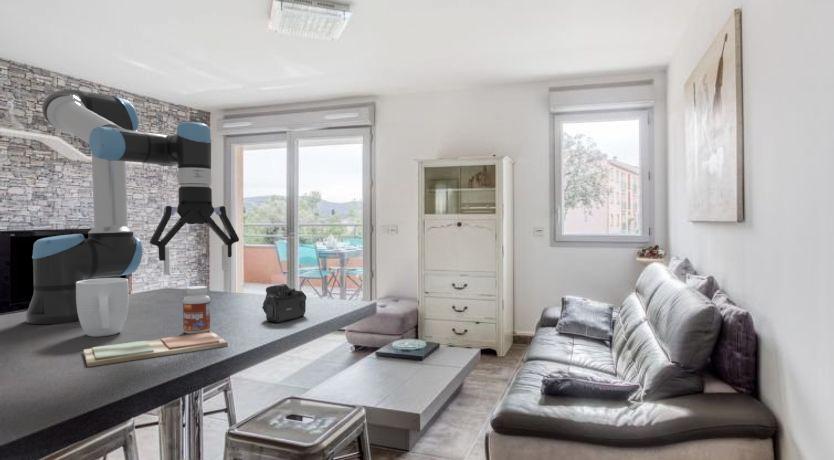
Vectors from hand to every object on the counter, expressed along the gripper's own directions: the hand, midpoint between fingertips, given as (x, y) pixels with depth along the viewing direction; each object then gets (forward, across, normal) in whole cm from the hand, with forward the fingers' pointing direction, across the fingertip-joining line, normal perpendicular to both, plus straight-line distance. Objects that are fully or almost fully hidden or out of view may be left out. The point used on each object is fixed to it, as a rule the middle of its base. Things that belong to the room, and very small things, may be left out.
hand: (196, 272), depth 126 cm
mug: (+15, -19, +10) cm, 26 cm away
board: (+15, -11, -13) cm, 22 cm away
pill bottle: (+15, 0, 0) cm, 15 cm away
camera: (+15, +23, +2) cm, 27 cm away
